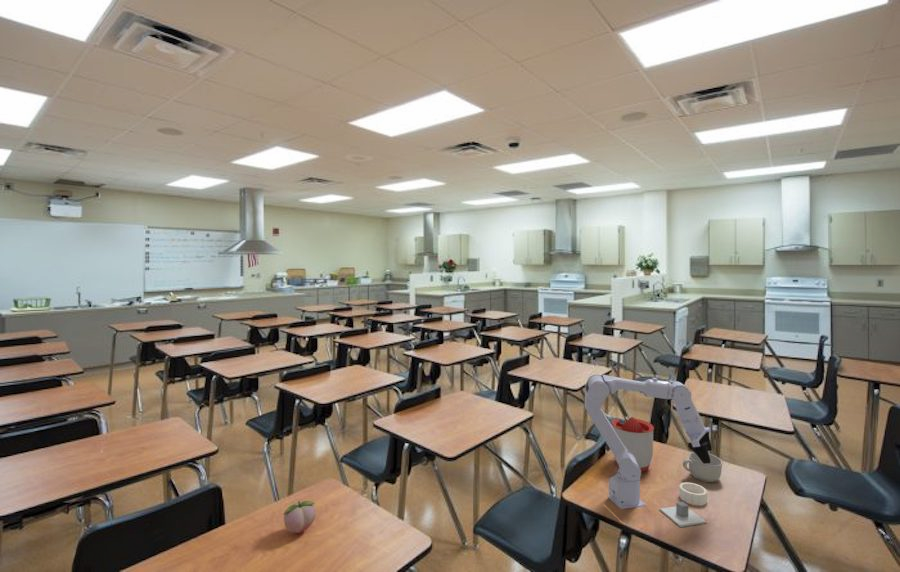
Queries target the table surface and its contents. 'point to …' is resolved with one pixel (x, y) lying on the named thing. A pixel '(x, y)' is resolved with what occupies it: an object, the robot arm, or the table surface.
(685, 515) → the lid
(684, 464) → the teacup
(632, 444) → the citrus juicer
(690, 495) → the bowl
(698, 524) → the mat
